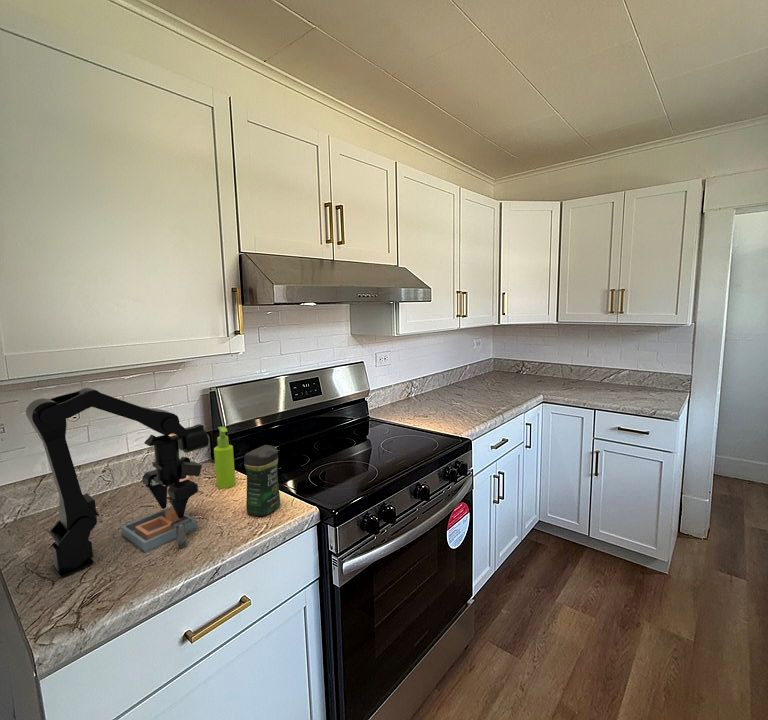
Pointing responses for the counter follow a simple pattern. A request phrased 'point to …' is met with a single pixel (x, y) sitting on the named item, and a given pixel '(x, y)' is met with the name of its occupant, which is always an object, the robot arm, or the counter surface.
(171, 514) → the tan rectangular frame
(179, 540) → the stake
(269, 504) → the coffee jar
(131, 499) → the counter surface
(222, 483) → the soap dispenser
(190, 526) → the tray
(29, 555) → the counter surface
